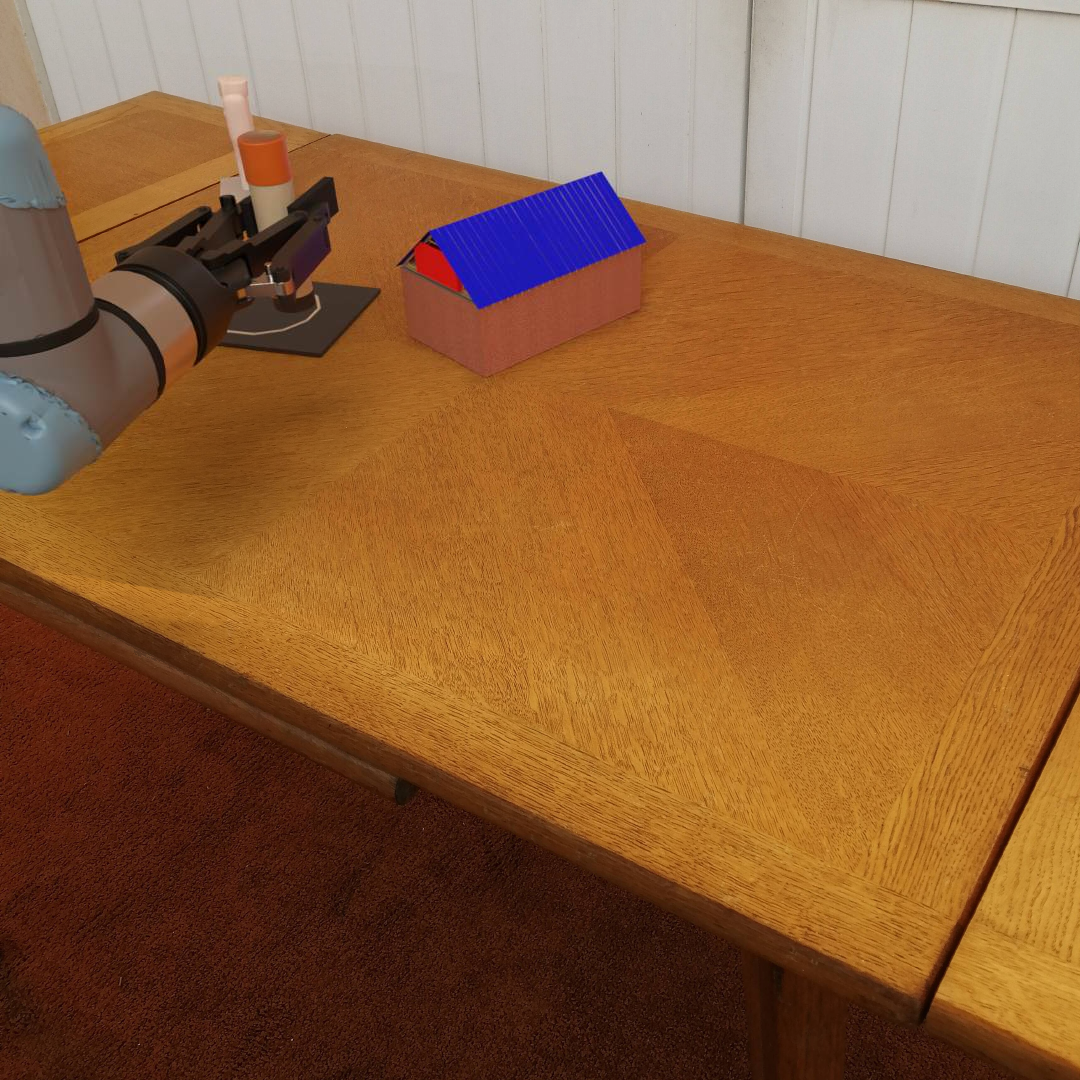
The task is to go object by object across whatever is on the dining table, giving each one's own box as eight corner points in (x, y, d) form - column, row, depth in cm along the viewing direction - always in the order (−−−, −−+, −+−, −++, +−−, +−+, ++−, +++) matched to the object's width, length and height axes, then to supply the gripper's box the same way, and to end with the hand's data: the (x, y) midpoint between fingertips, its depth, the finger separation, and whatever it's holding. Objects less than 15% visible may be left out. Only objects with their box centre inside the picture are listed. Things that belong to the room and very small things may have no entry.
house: (645, 308, 108) (647, 187, 100) (484, 380, 98) (473, 251, 90) (562, 271, 115) (558, 155, 107) (404, 335, 104) (387, 211, 97)
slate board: (144, 337, 105) (143, 332, 104) (218, 275, 115) (217, 270, 115) (320, 357, 101) (320, 352, 101) (381, 291, 111) (380, 287, 111)
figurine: (291, 200, 131) (264, 62, 121) (295, 230, 124) (267, 87, 114) (227, 206, 129) (195, 68, 120) (228, 237, 122) (194, 93, 113)
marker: (265, 311, 88) (228, 142, 80) (285, 293, 91) (250, 127, 82) (305, 315, 88) (271, 145, 79) (323, 297, 90) (292, 130, 82)
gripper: (57, 362, 75) (228, 229, 93) (275, 389, 72) (410, 246, 90) (18, 255, 71) (206, 136, 88) (250, 279, 67) (398, 151, 85)
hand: (309, 192), depth 89 cm, fingers closed on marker, 3 cm apart
